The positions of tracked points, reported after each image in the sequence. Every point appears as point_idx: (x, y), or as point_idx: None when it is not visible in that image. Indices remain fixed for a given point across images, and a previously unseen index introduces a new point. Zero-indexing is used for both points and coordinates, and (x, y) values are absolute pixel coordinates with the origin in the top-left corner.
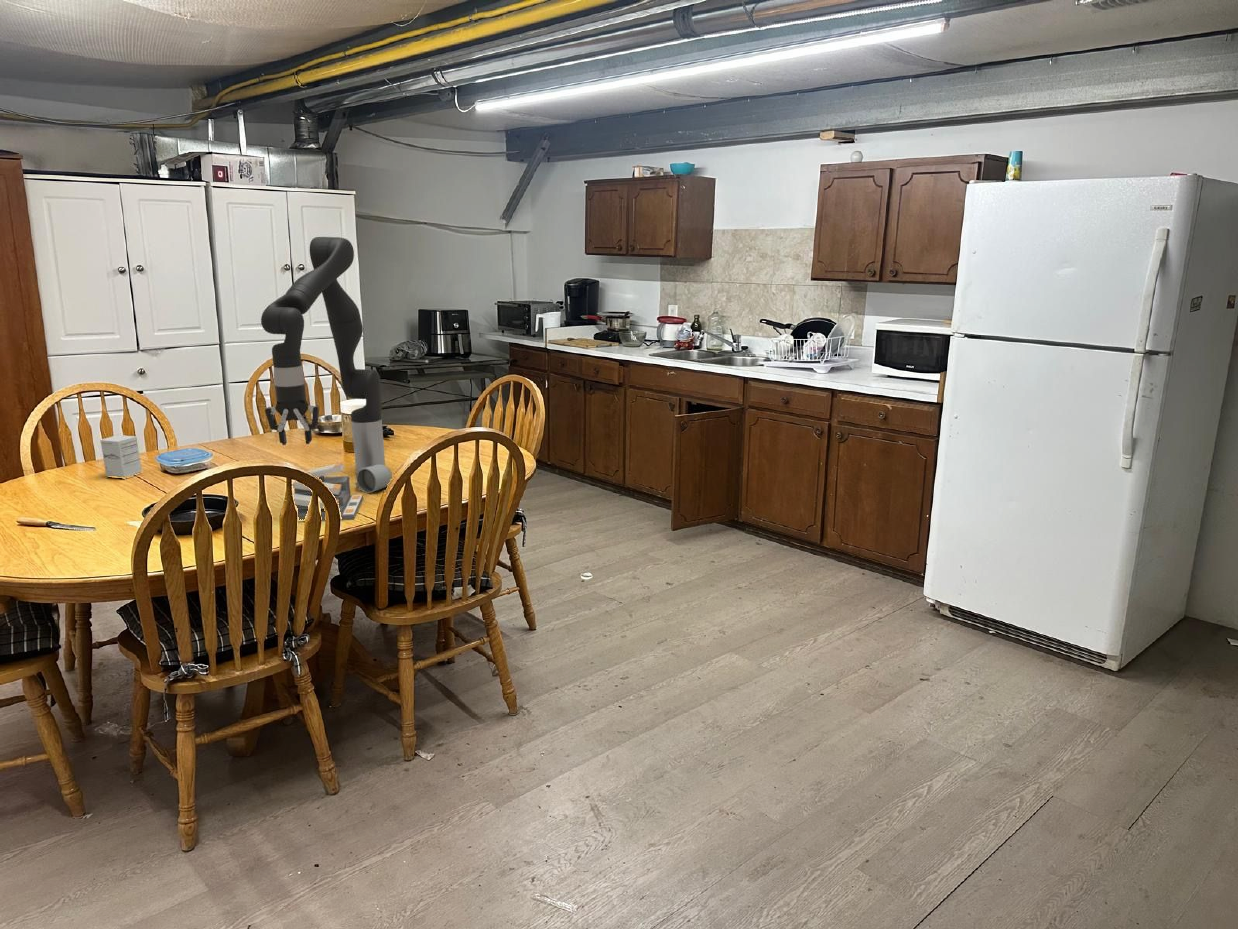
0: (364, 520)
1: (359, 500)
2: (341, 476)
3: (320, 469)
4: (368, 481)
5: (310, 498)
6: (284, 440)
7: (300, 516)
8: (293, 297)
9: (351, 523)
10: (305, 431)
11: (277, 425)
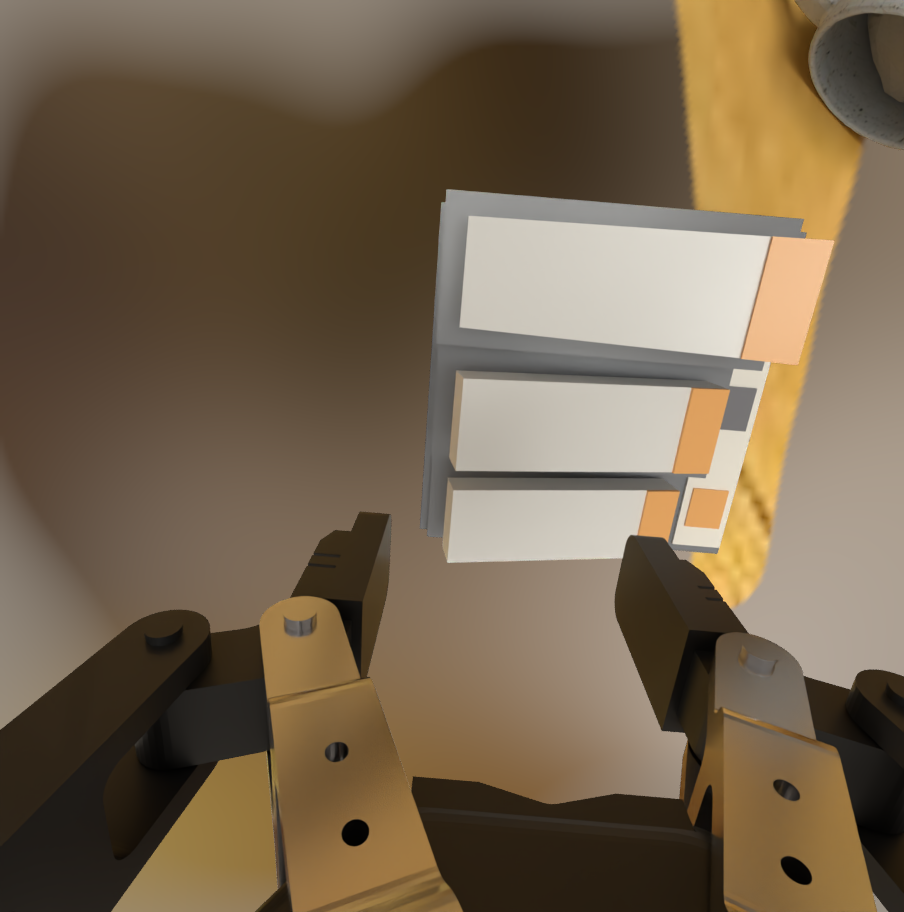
0: (750, 564)
1: None
2: (750, 222)
3: (632, 299)
4: (901, 61)
5: (544, 524)
6: (379, 619)
7: None
8: None
9: None
10: (673, 727)
11: (230, 724)
